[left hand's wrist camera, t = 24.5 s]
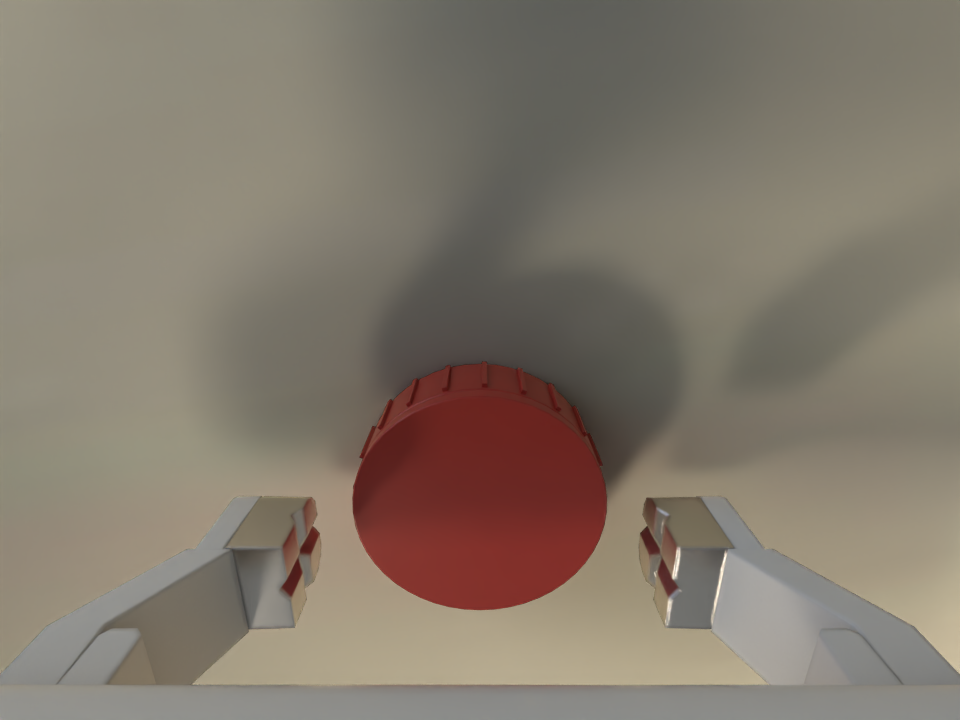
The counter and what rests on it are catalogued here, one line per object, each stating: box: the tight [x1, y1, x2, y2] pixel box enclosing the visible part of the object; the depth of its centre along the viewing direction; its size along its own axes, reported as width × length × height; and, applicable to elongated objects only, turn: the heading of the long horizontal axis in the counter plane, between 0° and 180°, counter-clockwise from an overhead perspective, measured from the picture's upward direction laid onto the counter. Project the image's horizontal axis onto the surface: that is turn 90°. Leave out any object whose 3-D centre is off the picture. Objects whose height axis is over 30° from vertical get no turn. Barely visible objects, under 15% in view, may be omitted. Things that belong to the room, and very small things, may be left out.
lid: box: [353, 362, 607, 610], centre depth 12 cm, size 6×6×2 cm
